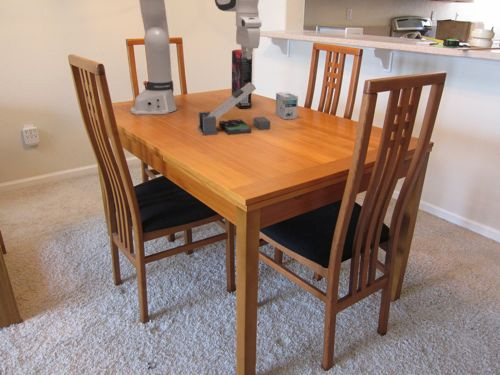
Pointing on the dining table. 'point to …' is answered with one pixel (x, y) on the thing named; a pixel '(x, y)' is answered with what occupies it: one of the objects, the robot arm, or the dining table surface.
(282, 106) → the light bulb box
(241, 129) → the disk drive
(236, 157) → the dining table surface
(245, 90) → the bar
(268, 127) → the strap bracket
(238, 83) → the graphics card box
